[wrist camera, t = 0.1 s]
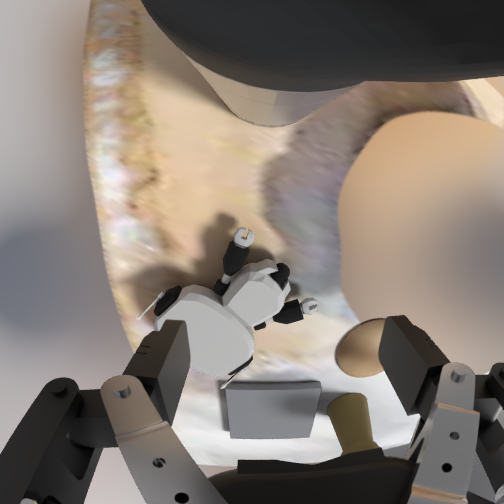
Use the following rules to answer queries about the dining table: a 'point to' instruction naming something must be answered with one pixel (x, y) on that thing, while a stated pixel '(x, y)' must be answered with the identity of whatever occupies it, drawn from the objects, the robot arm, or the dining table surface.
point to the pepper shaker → (352, 423)
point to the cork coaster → (362, 349)
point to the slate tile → (272, 409)
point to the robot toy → (231, 310)
